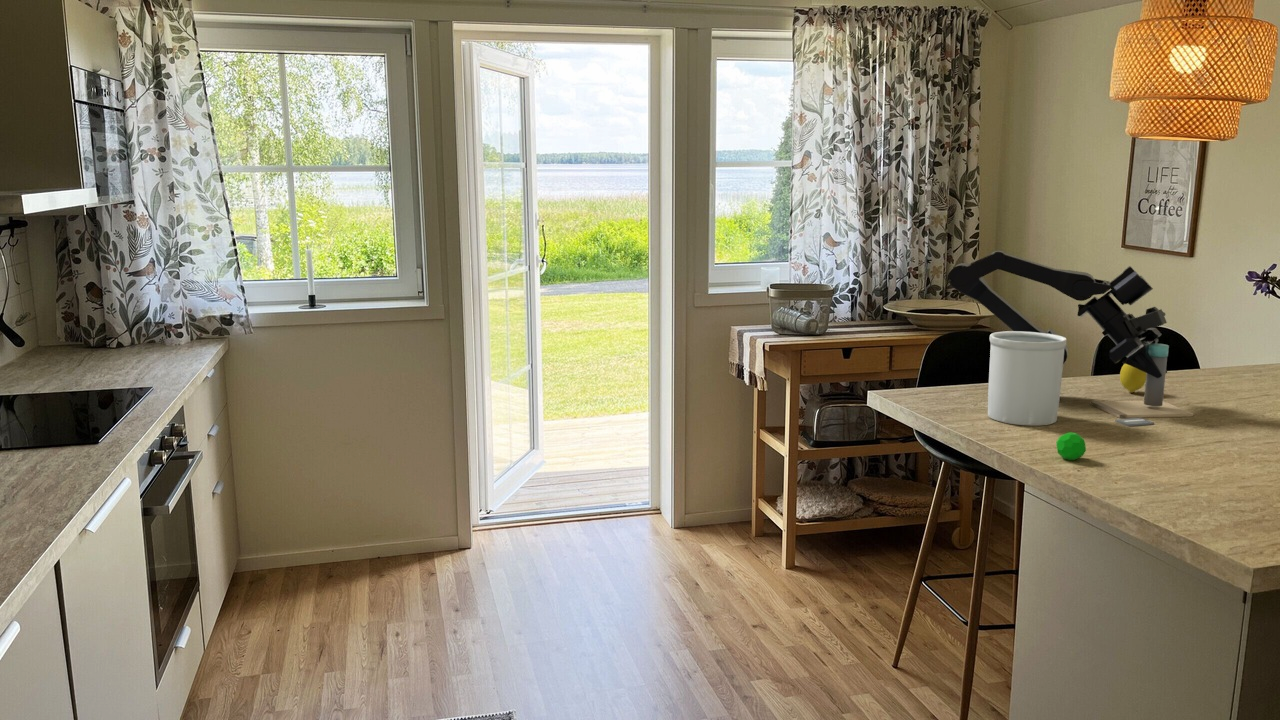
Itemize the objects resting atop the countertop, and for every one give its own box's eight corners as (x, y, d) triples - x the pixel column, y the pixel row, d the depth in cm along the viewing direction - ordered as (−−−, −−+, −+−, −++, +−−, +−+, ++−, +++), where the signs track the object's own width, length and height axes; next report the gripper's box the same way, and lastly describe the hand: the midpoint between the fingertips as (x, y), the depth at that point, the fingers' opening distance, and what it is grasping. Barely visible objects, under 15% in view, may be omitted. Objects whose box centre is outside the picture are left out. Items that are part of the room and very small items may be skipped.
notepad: (1119, 418, 205) (1119, 414, 204) (1090, 404, 216) (1090, 401, 216) (1193, 416, 205) (1193, 413, 205) (1160, 402, 217) (1160, 399, 217)
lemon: (1149, 395, 224) (1152, 361, 223) (1125, 395, 224) (1128, 361, 223) (1137, 389, 230) (1140, 356, 228) (1114, 390, 230) (1117, 356, 228)
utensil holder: (995, 406, 216) (1000, 327, 212) (1067, 415, 207) (1073, 334, 204) (975, 420, 204) (980, 338, 200) (1050, 430, 195) (1057, 345, 192)
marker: (1149, 406, 208) (1154, 346, 206) (1139, 402, 212) (1145, 343, 209) (1166, 406, 208) (1172, 346, 206) (1156, 402, 212) (1162, 343, 210)
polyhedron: (1091, 461, 175) (1093, 436, 174) (1068, 464, 174) (1070, 438, 173) (1071, 453, 180) (1073, 429, 179) (1049, 456, 179) (1051, 431, 178)
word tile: (1128, 426, 198) (1128, 423, 198) (1115, 421, 202) (1115, 419, 202) (1153, 424, 199) (1154, 422, 199) (1139, 419, 203) (1140, 417, 203)
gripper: (1130, 300, 201) (1184, 359, 196) (1155, 291, 215) (1206, 346, 210) (1087, 333, 208) (1138, 391, 203) (1114, 322, 222) (1162, 376, 217)
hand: (1162, 375), depth 208 cm, fingers closed on marker, 4 cm apart
